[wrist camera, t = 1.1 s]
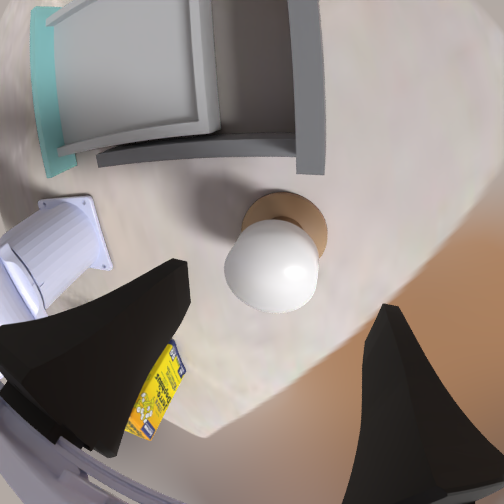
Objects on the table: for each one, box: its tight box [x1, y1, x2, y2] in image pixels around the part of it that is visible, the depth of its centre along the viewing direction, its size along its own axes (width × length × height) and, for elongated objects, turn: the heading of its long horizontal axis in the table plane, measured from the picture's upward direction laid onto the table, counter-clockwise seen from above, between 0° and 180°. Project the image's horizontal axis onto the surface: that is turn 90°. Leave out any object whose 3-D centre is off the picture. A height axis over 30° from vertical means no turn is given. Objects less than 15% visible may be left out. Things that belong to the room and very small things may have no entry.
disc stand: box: [241, 192, 327, 258], centre depth 19 cm, size 6×6×4 cm
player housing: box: [96, 0, 326, 175], centre depth 12 cm, size 16×16×6 cm
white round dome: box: [224, 219, 319, 313], centre depth 17 cm, size 5×5×2 cm
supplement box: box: [125, 339, 186, 441], centre depth 28 cm, size 6×6×11 cm
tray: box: [30, 0, 221, 178], centre depth 15 cm, size 15×16×3 cm
